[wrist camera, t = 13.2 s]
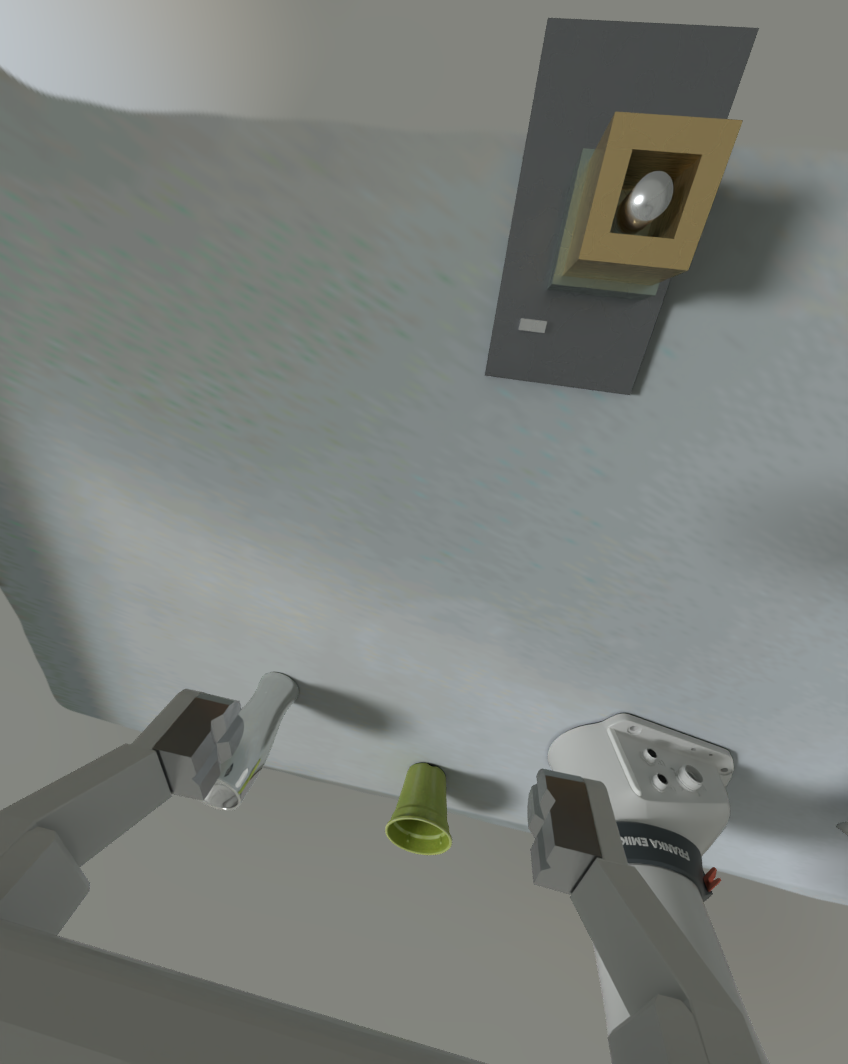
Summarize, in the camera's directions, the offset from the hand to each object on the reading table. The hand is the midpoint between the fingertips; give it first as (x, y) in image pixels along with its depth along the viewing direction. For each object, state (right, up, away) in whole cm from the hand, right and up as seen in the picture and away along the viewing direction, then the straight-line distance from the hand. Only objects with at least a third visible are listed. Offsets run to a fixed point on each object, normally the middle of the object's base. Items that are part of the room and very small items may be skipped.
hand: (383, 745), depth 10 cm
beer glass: (-20, -17, +45) cm, 52 cm away
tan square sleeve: (+14, +26, +14) cm, 32 cm away
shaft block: (+14, +27, +17) cm, 35 cm away
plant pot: (+2, -33, +49) cm, 59 cm away
